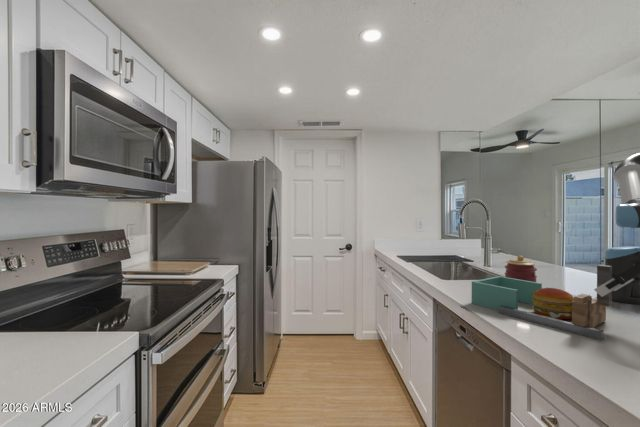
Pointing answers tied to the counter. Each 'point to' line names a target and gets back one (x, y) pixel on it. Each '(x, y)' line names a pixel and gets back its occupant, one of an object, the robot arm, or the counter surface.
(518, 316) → the rail
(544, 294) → the burger
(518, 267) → the canister
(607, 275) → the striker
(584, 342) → the counter surface
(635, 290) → the robot arm
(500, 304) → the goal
